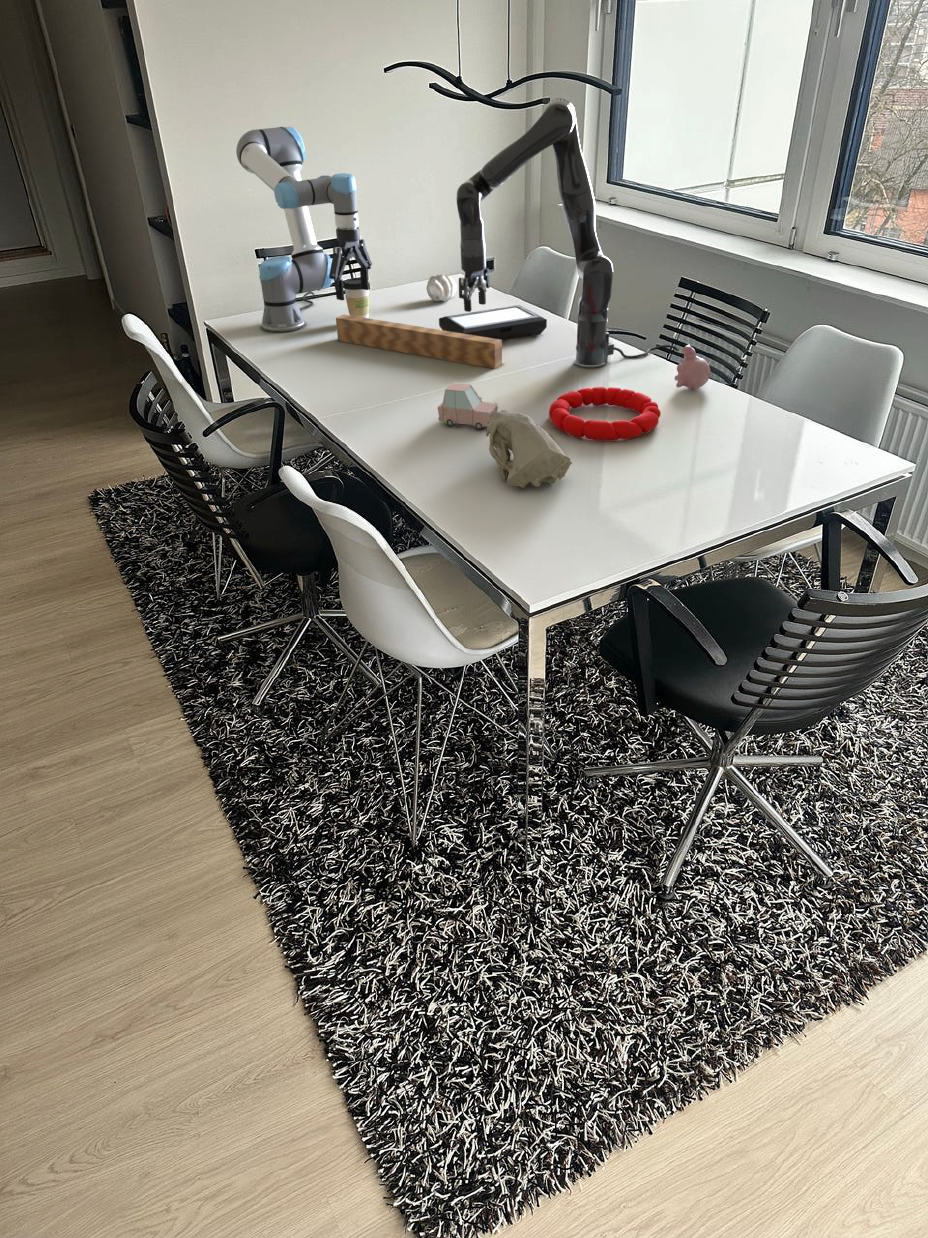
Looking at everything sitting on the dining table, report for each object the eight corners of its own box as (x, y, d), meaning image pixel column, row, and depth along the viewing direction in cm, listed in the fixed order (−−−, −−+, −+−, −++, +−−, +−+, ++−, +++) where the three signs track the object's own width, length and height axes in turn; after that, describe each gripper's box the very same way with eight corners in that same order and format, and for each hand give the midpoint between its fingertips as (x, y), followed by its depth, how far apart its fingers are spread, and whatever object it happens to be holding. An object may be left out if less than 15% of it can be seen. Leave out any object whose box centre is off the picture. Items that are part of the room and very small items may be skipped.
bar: (338, 340, 311) (335, 317, 306) (346, 337, 314) (343, 314, 309) (494, 368, 282) (494, 343, 278) (502, 364, 285) (501, 339, 281)
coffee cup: (372, 326, 323) (368, 283, 314) (345, 327, 323) (340, 284, 315) (374, 318, 331) (371, 276, 322) (348, 319, 331) (344, 277, 323)
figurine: (665, 387, 264) (669, 347, 257) (693, 380, 268) (698, 340, 261) (686, 396, 257) (690, 355, 250) (714, 388, 262) (720, 348, 255)
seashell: (419, 300, 350) (418, 274, 344) (453, 294, 355) (452, 268, 350) (431, 306, 342) (430, 279, 336) (465, 300, 348) (465, 273, 342)
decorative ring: (589, 435, 224) (684, 402, 234) (527, 398, 247) (617, 369, 256) (589, 461, 229) (683, 427, 238) (529, 422, 251) (617, 393, 260)
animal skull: (496, 517, 219) (521, 479, 201) (463, 429, 225) (484, 384, 207) (557, 503, 225) (586, 465, 206) (523, 417, 231) (549, 373, 212)
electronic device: (462, 330, 295) (438, 315, 310) (462, 349, 298) (439, 333, 313) (546, 317, 305) (520, 303, 320) (546, 335, 309) (520, 320, 324)
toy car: (488, 432, 240) (488, 396, 234) (436, 426, 244) (434, 390, 239) (499, 419, 247) (499, 384, 241) (448, 413, 252) (447, 379, 246)
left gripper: (332, 236, 278) (338, 305, 290) (379, 220, 295) (383, 286, 307) (313, 233, 281) (320, 302, 294) (361, 218, 298) (366, 283, 311)
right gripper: (471, 259, 262) (473, 315, 272) (495, 248, 272) (497, 302, 281) (449, 257, 266) (452, 312, 275) (474, 246, 275) (477, 300, 285)
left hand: (353, 294), depth 301 cm, fingers open, 13 cm apart
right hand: (475, 307), depth 278 cm, fingers open, 8 cm apart
